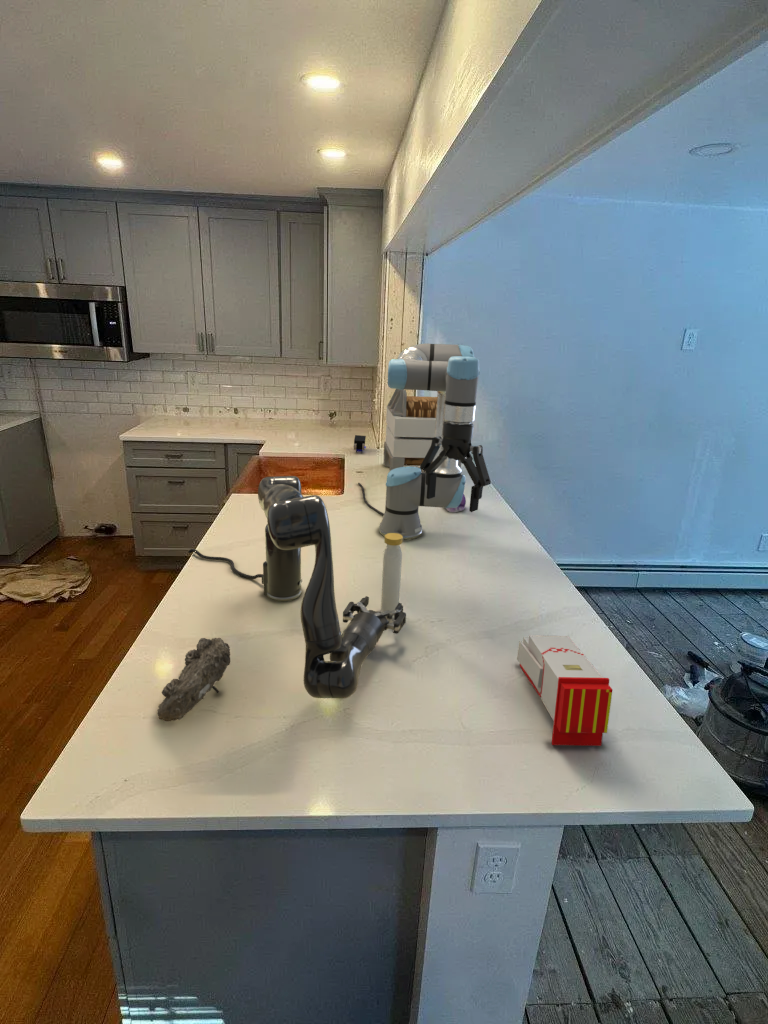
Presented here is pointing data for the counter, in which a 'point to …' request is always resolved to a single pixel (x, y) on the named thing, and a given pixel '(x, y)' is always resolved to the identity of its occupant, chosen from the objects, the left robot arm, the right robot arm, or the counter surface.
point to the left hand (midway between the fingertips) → (383, 602)
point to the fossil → (195, 678)
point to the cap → (393, 539)
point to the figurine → (461, 506)
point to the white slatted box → (409, 429)
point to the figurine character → (359, 443)
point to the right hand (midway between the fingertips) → (451, 504)
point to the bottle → (391, 578)
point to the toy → (567, 688)
